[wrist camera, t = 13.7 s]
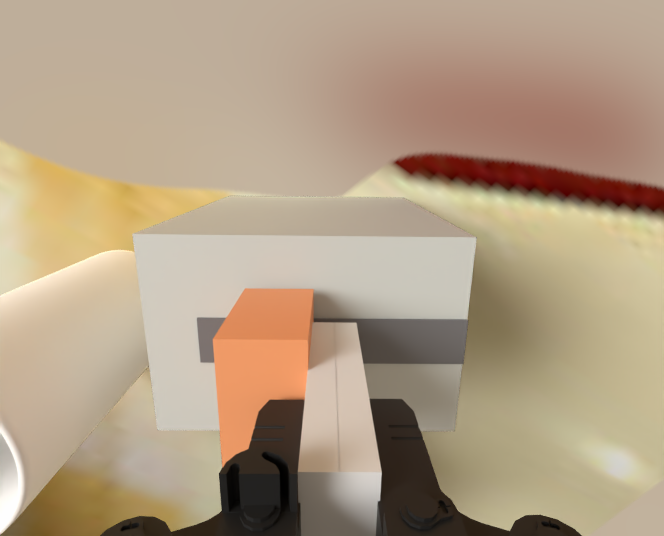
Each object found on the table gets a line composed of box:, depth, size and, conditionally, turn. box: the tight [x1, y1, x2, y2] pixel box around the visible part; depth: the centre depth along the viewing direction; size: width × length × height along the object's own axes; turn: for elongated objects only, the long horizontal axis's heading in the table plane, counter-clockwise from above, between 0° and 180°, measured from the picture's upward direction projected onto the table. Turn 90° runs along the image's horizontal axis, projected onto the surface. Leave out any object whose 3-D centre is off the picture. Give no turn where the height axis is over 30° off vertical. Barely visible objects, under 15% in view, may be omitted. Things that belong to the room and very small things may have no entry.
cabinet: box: [132, 196, 477, 431], centre depth 22 cm, size 12×8×14 cm
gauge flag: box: [213, 288, 314, 467], centre depth 12 cm, size 2×4×4 cm, turn 0°
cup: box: [0, 250, 149, 534], centre depth 22 cm, size 8×8×16 cm
